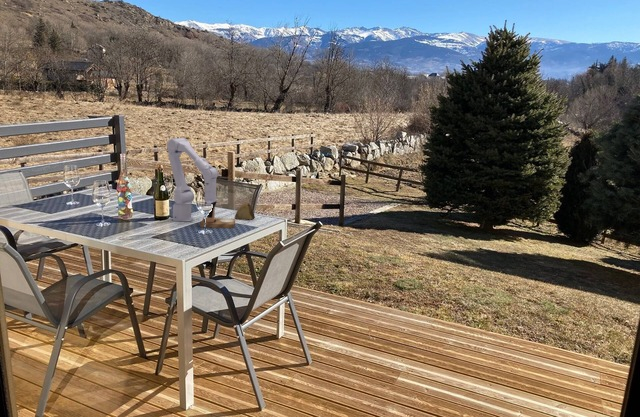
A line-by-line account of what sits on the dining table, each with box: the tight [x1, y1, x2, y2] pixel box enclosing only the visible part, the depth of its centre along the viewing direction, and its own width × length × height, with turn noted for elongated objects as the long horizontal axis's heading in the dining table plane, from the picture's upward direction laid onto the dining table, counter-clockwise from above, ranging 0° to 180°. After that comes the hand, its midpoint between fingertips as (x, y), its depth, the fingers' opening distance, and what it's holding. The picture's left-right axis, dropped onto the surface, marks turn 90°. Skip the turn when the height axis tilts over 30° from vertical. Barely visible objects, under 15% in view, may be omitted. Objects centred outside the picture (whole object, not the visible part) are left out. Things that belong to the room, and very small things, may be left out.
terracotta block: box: [205, 208, 216, 222], centre depth 250 cm, size 4×4×7 cm
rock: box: [234, 202, 256, 220], centre depth 267 cm, size 11×9×10 cm
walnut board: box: [199, 217, 236, 229], centre depth 251 cm, size 17×12×2 cm
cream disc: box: [220, 218, 234, 223], centre depth 251 cm, size 7×7×1 cm
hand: (210, 216), depth 250 cm, fingers closed on terracotta block, 4 cm apart
